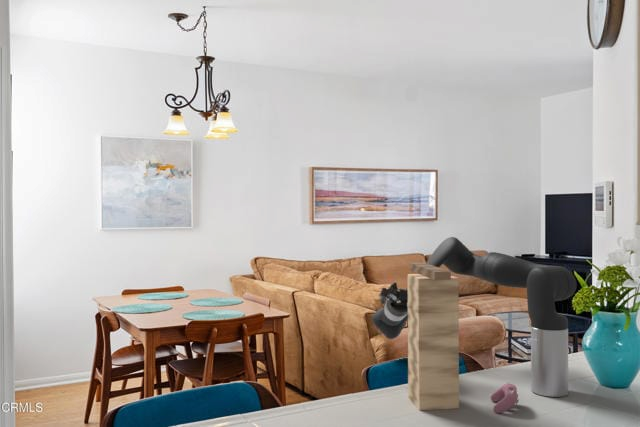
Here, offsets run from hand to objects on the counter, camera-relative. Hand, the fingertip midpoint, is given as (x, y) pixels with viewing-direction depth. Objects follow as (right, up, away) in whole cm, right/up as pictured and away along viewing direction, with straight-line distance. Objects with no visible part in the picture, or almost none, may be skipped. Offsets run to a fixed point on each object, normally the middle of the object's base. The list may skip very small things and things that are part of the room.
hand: (410, 285), depth 173 cm
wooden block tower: (+3, -27, -20) cm, 34 cm away
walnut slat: (+2, +5, -17) cm, 18 cm away
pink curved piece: (+20, -28, -24) cm, 41 cm away
